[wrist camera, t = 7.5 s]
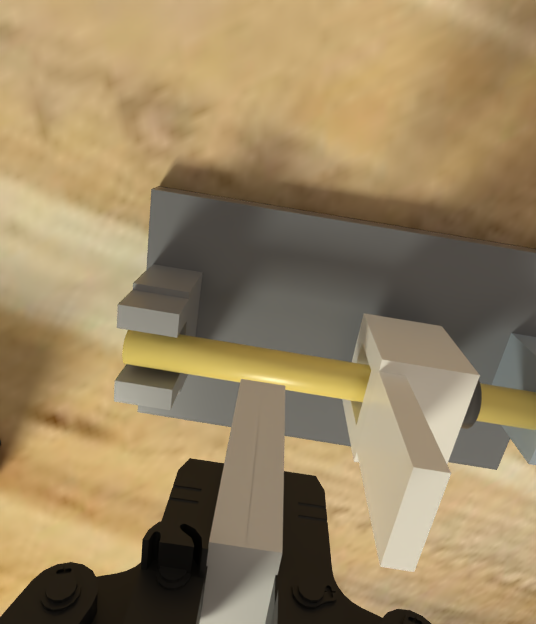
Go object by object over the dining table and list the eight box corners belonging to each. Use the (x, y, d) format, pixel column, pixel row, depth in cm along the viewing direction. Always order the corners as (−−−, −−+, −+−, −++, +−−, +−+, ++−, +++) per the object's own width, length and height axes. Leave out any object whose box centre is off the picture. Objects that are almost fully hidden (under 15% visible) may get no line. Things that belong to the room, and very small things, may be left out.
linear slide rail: (158, 186, 22) (111, 205, 16) (569, 254, 22) (667, 297, 17) (144, 400, 26) (103, 474, 21) (488, 455, 27) (542, 544, 21)
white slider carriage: (363, 313, 21) (418, 451, 12) (441, 326, 21) (556, 473, 12) (342, 399, 23) (375, 579, 14) (414, 411, 23) (496, 598, 14)
